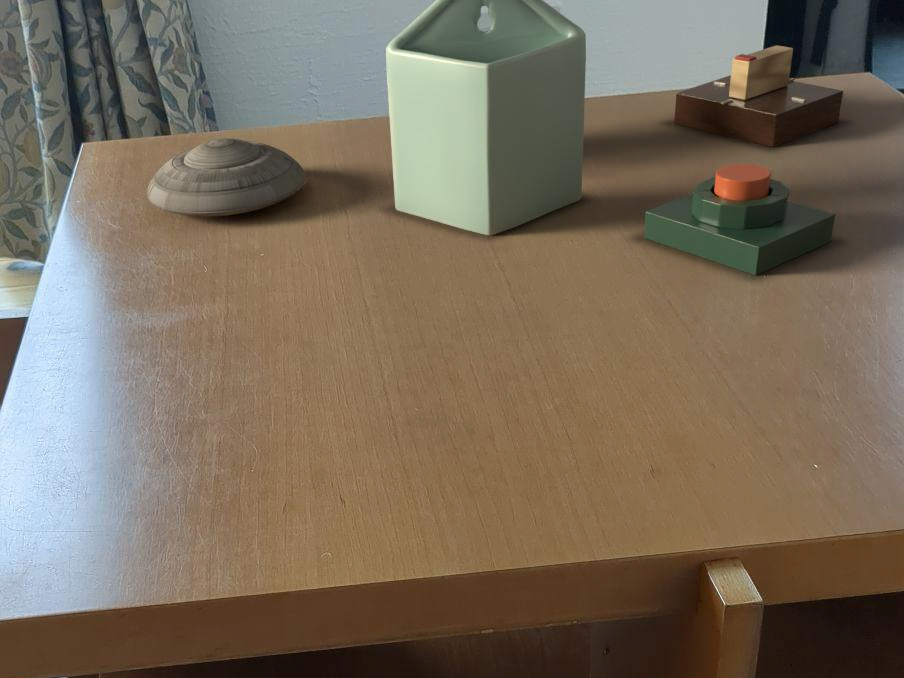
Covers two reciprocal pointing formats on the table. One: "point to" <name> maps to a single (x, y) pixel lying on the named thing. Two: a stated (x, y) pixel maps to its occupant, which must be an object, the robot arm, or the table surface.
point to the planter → (487, 113)
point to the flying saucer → (225, 179)
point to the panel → (759, 111)
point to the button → (742, 182)
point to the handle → (760, 72)
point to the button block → (740, 227)
